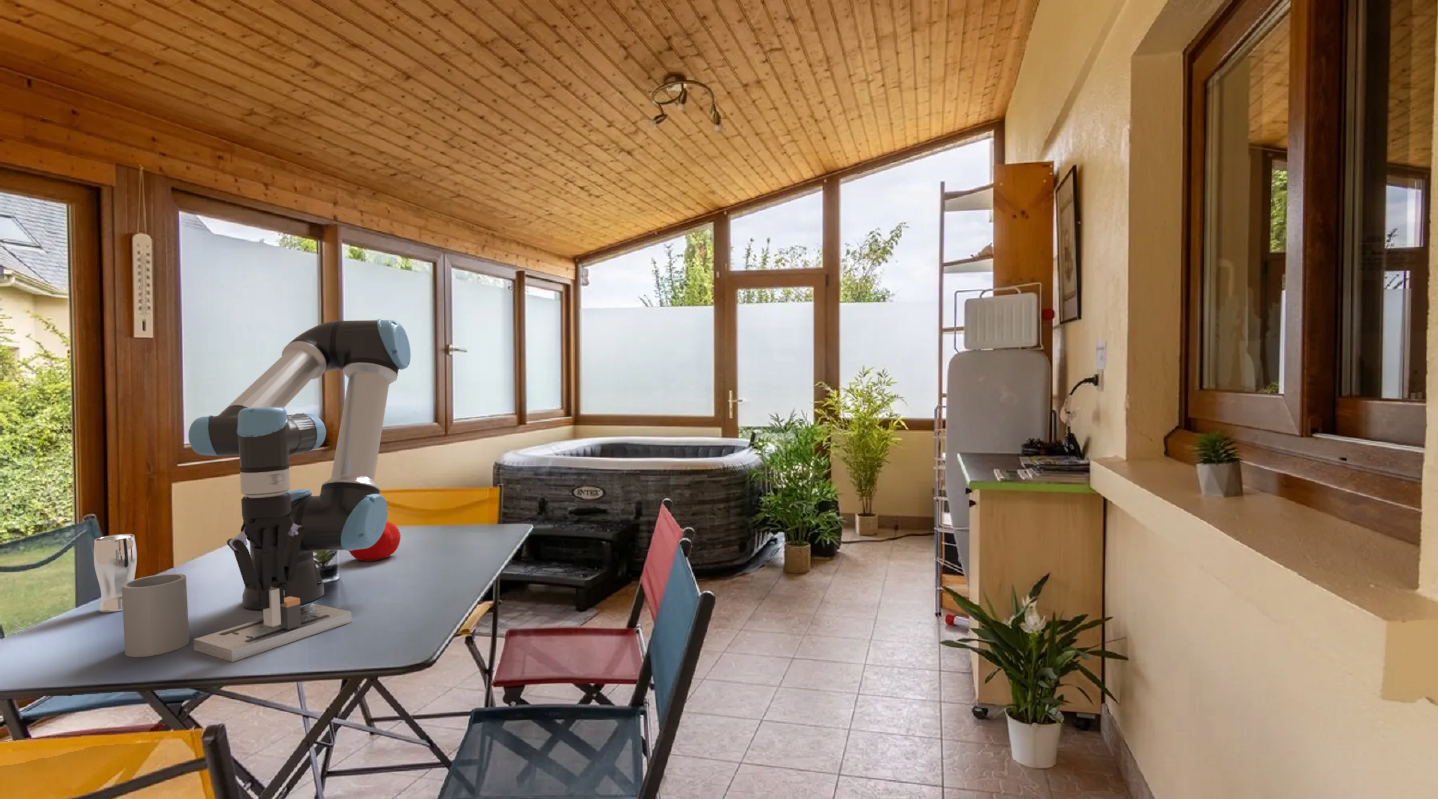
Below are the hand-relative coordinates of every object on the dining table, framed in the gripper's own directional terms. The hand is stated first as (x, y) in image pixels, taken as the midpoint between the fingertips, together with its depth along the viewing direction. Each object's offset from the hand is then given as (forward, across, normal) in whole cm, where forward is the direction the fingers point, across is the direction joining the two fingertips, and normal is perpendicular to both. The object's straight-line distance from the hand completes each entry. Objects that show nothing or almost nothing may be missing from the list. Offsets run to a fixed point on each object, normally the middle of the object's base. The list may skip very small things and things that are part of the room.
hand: (272, 624), depth 133 cm
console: (+4, +3, +4) cm, 6 cm away
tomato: (+4, +49, +38) cm, 62 cm away
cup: (+4, -10, +18) cm, 21 cm away
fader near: (+1, +3, 0) cm, 3 cm away
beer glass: (+4, -2, +52) cm, 52 cm away
